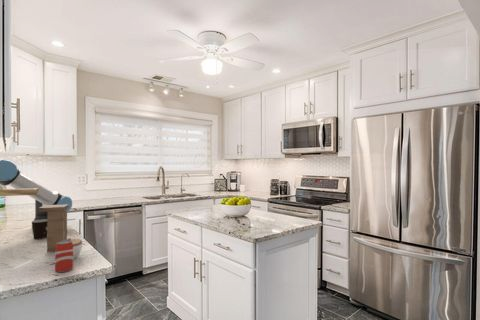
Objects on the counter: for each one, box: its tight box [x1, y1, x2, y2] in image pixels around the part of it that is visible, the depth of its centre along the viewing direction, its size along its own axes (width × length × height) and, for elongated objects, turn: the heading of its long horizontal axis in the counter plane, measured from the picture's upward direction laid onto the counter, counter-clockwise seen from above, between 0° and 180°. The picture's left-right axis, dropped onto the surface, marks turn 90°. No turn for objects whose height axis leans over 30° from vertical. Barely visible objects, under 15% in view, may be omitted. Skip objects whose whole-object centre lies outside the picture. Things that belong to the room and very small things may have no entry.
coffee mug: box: [31, 219, 47, 240], centre depth 170 cm, size 12×9×10 cm
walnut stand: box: [39, 204, 69, 253], centre depth 146 cm, size 9×11×22 cm
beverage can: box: [54, 239, 74, 273], centre depth 119 cm, size 6×6×12 cm
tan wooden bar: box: [0, 188, 39, 197], centre depth 140 cm, size 4×24×3 cm, turn 108°
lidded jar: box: [56, 237, 83, 260], centre depth 133 cm, size 11×11×9 cm
